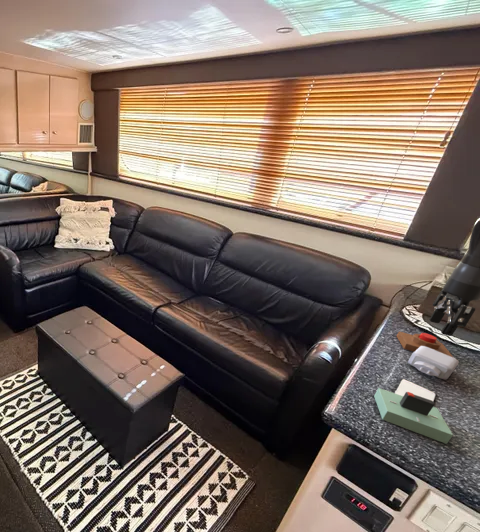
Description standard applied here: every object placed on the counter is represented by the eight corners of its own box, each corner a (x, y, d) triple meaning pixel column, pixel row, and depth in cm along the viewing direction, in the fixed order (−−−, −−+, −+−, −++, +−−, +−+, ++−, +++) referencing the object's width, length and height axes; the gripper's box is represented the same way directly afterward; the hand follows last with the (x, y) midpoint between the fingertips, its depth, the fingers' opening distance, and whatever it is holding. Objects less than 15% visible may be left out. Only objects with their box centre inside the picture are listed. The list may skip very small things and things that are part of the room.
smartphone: (436, 393, 92) (428, 415, 83) (434, 395, 92) (427, 418, 84) (402, 378, 97) (392, 397, 89) (401, 380, 98) (390, 399, 89)
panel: (431, 416, 84) (437, 407, 83) (446, 444, 76) (453, 434, 75) (373, 395, 89) (378, 387, 88) (382, 419, 81) (387, 410, 80)
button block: (439, 348, 116) (444, 339, 115) (450, 362, 108) (456, 352, 107) (396, 336, 122) (401, 327, 120) (403, 348, 114) (409, 339, 112)
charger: (400, 368, 102) (414, 355, 110) (440, 387, 95) (452, 372, 103) (407, 357, 100) (421, 344, 108) (449, 375, 93) (460, 360, 101)
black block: (424, 411, 81) (432, 399, 79) (427, 416, 80) (435, 403, 78) (399, 402, 83) (406, 391, 82) (401, 406, 82) (408, 394, 80)
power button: (432, 339, 114) (434, 335, 113) (436, 344, 111) (438, 340, 110) (417, 335, 116) (419, 331, 115) (420, 340, 113) (423, 336, 112)
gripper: (503, 293, 83) (468, 344, 89) (474, 276, 95) (445, 322, 101) (463, 285, 86) (432, 334, 93) (440, 269, 98) (414, 314, 104)
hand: (439, 328), depth 97 cm, fingers open, 8 cm apart
